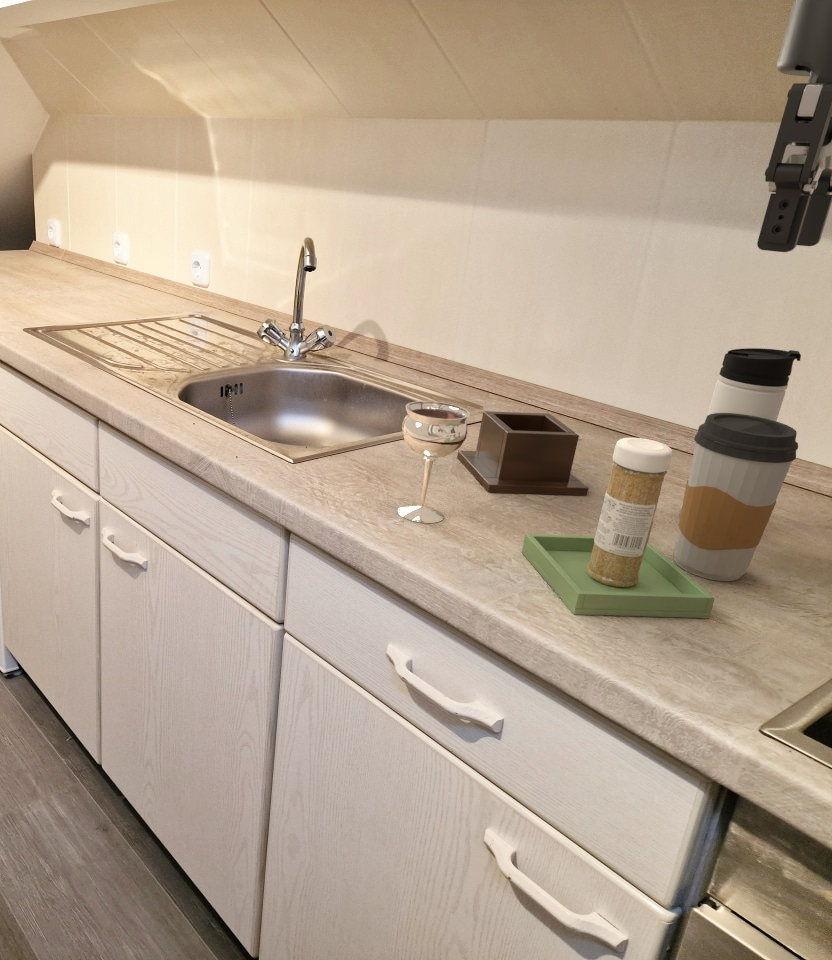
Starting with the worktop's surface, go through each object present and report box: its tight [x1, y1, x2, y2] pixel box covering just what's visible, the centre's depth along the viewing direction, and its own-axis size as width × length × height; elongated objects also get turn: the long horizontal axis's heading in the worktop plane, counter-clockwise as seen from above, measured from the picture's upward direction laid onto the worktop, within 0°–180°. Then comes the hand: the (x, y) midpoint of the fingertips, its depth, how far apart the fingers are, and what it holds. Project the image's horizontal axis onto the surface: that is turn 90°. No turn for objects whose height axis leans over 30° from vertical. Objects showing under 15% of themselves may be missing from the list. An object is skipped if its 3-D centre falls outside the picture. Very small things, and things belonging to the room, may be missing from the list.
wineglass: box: [397, 400, 471, 524], centre depth 92 cm, size 7×7×12 cm
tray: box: [521, 533, 716, 619], centre depth 81 cm, size 12×12×2 cm
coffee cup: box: [673, 413, 799, 582], centre depth 82 cm, size 8×8×15 cm
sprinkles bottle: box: [587, 437, 673, 587], centre depth 78 cm, size 5×5×14 cm
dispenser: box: [456, 410, 589, 497], centre depth 106 cm, size 12×12×7 cm
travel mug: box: [678, 347, 802, 517], centre depth 92 cm, size 6×7×20 cm
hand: (788, 247), depth 62 cm, fingers open, 8 cm apart
